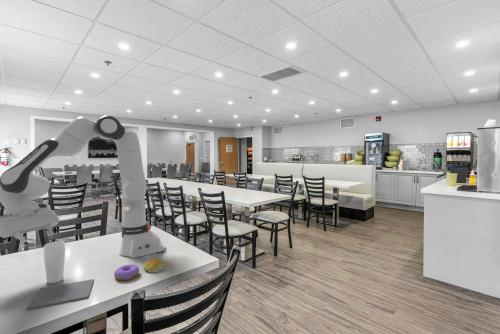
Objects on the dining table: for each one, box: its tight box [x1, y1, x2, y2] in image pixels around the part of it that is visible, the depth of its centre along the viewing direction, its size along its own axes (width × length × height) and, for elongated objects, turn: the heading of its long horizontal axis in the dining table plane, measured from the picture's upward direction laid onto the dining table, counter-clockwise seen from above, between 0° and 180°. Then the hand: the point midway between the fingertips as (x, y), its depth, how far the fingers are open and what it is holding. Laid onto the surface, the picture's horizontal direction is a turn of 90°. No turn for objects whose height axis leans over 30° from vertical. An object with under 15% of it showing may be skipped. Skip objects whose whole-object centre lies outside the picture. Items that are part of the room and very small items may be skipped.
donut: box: [113, 263, 140, 282], centre depth 105 cm, size 10×9×5 cm
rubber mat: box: [25, 278, 95, 311], centre depth 91 cm, size 17×14×1 cm
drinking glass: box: [43, 240, 66, 285], centre depth 100 cm, size 7×7×15 cm
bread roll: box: [143, 258, 166, 274], centre depth 112 cm, size 8×9×4 cm
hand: (38, 237), depth 103 cm, fingers open, 8 cm apart
